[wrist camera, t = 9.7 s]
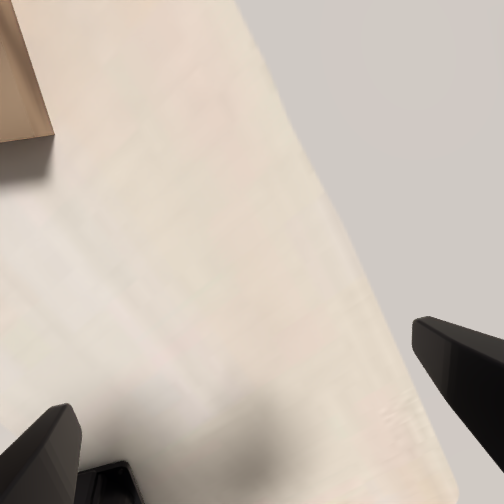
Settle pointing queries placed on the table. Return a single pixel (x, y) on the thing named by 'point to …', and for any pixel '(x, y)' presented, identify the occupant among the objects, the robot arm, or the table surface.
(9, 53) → the walnut block
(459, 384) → the robot arm
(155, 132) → the table surface
